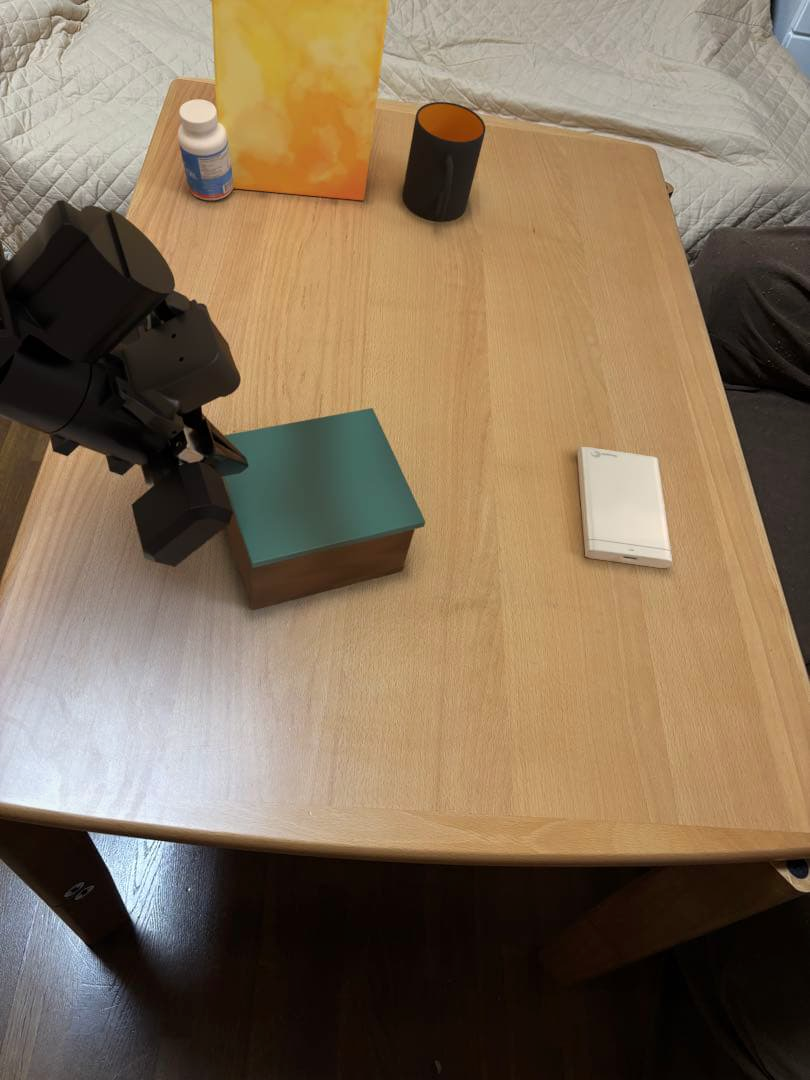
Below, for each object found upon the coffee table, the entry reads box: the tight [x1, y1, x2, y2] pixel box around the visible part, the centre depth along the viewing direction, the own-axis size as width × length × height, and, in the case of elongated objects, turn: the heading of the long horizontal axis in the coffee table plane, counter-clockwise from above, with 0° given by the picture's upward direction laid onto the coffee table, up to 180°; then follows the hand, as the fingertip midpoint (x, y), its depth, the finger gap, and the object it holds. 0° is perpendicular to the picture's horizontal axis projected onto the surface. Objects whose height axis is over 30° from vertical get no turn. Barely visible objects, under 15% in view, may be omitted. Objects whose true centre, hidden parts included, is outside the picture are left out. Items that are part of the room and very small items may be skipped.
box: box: [221, 477, 416, 611], centre depth 68 cm, size 14×13×7 cm
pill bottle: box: [177, 98, 234, 201], centre depth 91 cm, size 6×5×10 cm
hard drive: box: [576, 446, 673, 569], centre depth 78 cm, size 2×8×12 cm
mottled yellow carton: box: [211, 0, 390, 201], centre depth 90 cm, size 18×12×24 cm
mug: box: [401, 101, 486, 222], centre depth 96 cm, size 8×12×10 cm
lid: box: [222, 407, 426, 568], centre depth 65 cm, size 14×13×1 cm
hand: (243, 466), depth 60 cm, fingers closed
